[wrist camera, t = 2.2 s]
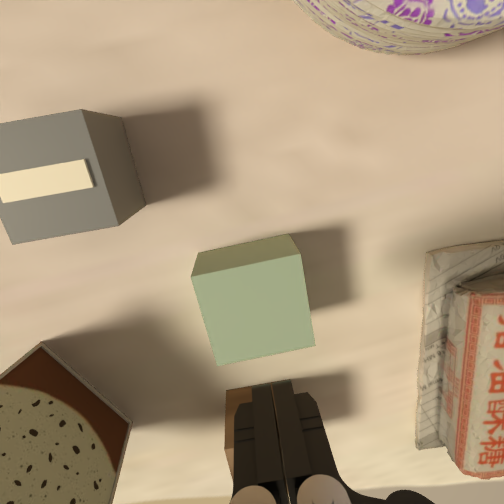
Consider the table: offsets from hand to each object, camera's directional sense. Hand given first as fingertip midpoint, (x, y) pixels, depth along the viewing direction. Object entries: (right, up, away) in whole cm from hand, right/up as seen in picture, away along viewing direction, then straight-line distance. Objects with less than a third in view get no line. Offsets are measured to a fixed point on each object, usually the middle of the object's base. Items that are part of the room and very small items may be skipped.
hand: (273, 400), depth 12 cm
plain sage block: (-1, +4, +10) cm, 10 cm away
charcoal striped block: (-10, +10, +7) cm, 16 cm away
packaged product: (+17, -2, +13) cm, 21 cm away
